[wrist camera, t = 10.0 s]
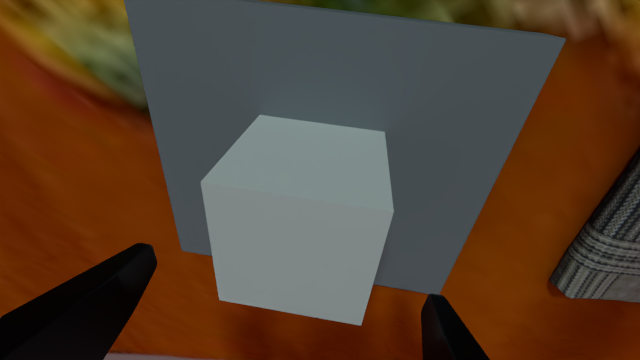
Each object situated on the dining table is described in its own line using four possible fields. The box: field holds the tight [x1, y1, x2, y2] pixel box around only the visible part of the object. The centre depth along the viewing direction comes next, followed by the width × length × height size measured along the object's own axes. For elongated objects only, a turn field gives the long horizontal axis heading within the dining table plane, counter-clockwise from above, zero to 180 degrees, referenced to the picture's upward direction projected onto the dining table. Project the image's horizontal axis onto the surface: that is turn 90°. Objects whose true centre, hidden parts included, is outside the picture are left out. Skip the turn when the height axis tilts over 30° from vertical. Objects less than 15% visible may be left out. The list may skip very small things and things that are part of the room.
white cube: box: [201, 115, 394, 326], centre depth 12 cm, size 6×6×6 cm
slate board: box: [124, 0, 566, 295], centre depth 15 cm, size 16×14×2 cm
